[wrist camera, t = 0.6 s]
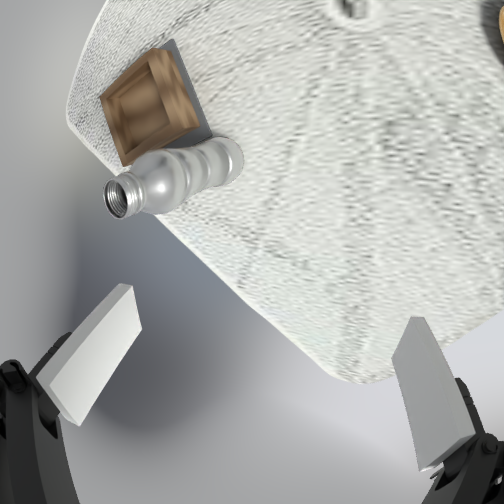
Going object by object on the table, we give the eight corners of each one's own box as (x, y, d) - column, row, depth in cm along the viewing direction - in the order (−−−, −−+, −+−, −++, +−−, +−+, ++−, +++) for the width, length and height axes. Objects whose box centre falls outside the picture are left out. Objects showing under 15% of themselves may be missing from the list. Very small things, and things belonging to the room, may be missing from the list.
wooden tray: (117, 95, 38) (99, 97, 35) (170, 50, 31) (152, 47, 28) (140, 161, 43) (123, 167, 39) (200, 126, 35) (182, 128, 32)
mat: (113, 90, 39) (111, 90, 38) (173, 38, 30) (172, 38, 30) (143, 173, 44) (141, 174, 44) (212, 135, 36) (211, 135, 36)
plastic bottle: (202, 167, 39) (91, 212, 23) (219, 127, 35) (99, 148, 19) (237, 189, 38) (133, 250, 22) (257, 148, 34) (148, 183, 18)
